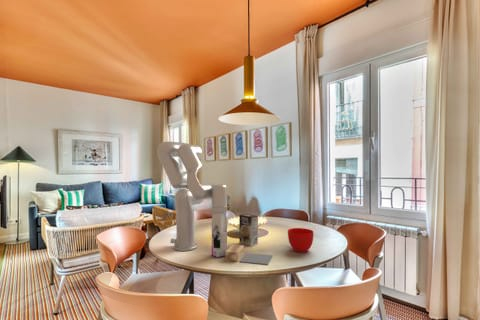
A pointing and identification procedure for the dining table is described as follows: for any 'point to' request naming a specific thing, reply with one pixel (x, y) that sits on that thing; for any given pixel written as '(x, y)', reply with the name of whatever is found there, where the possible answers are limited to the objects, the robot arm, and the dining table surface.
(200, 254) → the dining table surface
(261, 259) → the mat
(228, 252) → the ledge
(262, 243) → the dining table surface
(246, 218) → the coffee box
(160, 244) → the dining table surface
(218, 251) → the supplement box
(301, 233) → the ceramic cup
